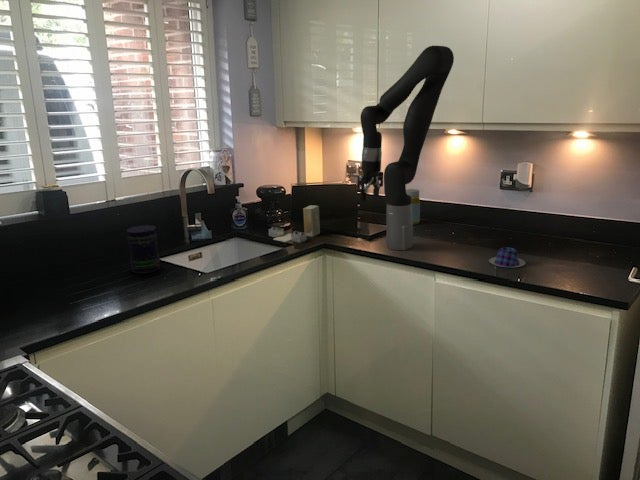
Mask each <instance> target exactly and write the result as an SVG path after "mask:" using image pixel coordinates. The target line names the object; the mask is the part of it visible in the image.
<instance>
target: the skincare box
mask: <svg viewBox="0 0 640 480" xmlns="http://www.w3.org/2000/svg"><path fill="white" fill-rule="evenodd" d="M319 207H320V206H319V205H314V204H313V205H311V204H310V205H307V206H306V207H304V208H302V210H303V228H304V229H303V231H304V233H307V237H309V238H310V237H312V238H314V237H315V236H317V235H319V234H320V233H321V226H320V223H321V222H320V208H319Z"/></svg>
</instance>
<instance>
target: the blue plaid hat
mask: <svg viewBox="0 0 640 480" xmlns="http://www.w3.org/2000/svg"><path fill="white" fill-rule="evenodd" d="M488 262H489V263H491V264H492V265H494V266H497V267H500V268H501V267H502V268H509V267H510V268H520V267H523V266H525V265H526V261H525V260H523V259H521V258H519V256H518V250H517V249H516V248H513V247H508V246H507V247H506V246H505V247H501V248H499V249H498V251H497V255H496V256H494V257H491V258H489V260H488Z"/></svg>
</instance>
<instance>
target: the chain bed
mask: <svg viewBox="0 0 640 480" xmlns="http://www.w3.org/2000/svg"><path fill="white" fill-rule="evenodd" d="M284 230H285V229H284V228H281V227H277V226H271V227H270V228H269V229H268V236H269V237H272V238H277V237H280V236H283V235H285V232H284ZM290 234H291V242H295V243H300V244H301V243H304V242H306V241H308V240H307V239H308V238H307V237H308V236H307V233H304V232H303V231H298V230H294V231H293V233H290Z"/></svg>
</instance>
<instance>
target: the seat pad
mask: <svg viewBox="0 0 640 480" xmlns="http://www.w3.org/2000/svg"><path fill="white" fill-rule="evenodd" d="M291 234H292V233H286V234H284V235H283V236H280V237H277V238H275V237H273V239H272V240H274V241H279V242H283V243H287V242H290V241H291ZM291 242H292V241H291Z"/></svg>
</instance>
